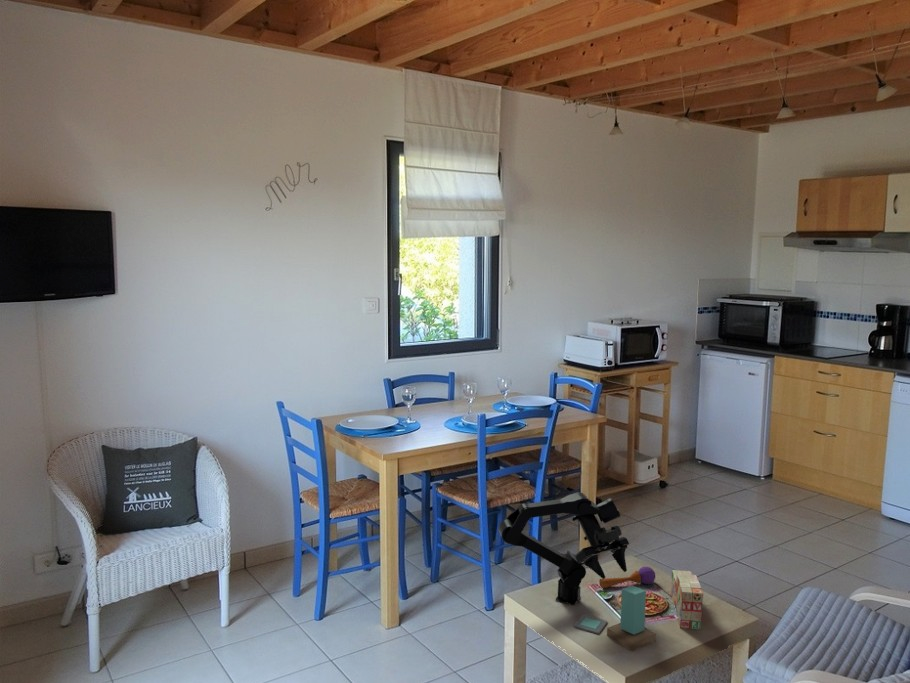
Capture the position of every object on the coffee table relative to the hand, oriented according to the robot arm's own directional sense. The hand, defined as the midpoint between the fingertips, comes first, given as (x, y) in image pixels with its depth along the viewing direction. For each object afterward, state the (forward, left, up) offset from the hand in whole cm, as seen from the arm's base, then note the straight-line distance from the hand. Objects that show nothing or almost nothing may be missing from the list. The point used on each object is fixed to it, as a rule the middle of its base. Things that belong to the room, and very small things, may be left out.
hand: (615, 574), depth 228 cm
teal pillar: (+9, -10, -11) cm, 17 cm away
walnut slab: (+9, -10, -14) cm, 20 cm away
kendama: (-2, +23, -14) cm, 27 cm away
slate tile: (-4, -9, -14) cm, 17 cm away
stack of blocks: (+19, +14, -14) cm, 28 cm away
